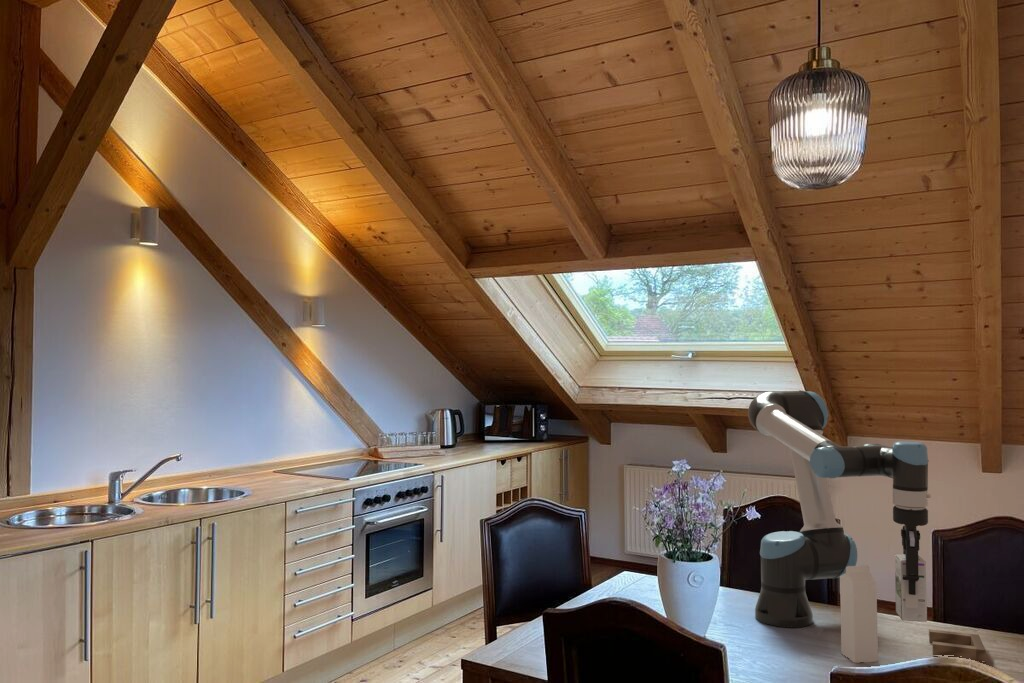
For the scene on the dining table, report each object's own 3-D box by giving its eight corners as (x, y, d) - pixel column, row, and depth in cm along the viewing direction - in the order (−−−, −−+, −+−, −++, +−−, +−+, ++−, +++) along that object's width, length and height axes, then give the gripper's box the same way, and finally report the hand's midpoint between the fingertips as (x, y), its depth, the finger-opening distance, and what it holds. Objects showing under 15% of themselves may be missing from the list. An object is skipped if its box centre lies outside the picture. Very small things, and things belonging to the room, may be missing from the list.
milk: (878, 662, 186) (877, 568, 187) (854, 663, 186) (853, 569, 186) (863, 652, 193) (862, 562, 193) (840, 653, 192) (839, 563, 192)
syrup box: (927, 622, 185) (927, 560, 185) (900, 620, 186) (900, 559, 186) (920, 614, 191) (920, 554, 191) (894, 612, 192) (894, 553, 192)
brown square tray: (933, 656, 190) (933, 644, 190) (929, 641, 200) (928, 629, 200) (986, 663, 185) (985, 650, 185) (979, 646, 196) (978, 634, 196)
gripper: (931, 516, 178) (932, 617, 178) (924, 500, 196) (925, 593, 196) (894, 513, 181) (895, 613, 181) (891, 498, 199) (891, 589, 199)
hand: (910, 602), depth 188 cm, fingers closed on syrup box, 6 cm apart
